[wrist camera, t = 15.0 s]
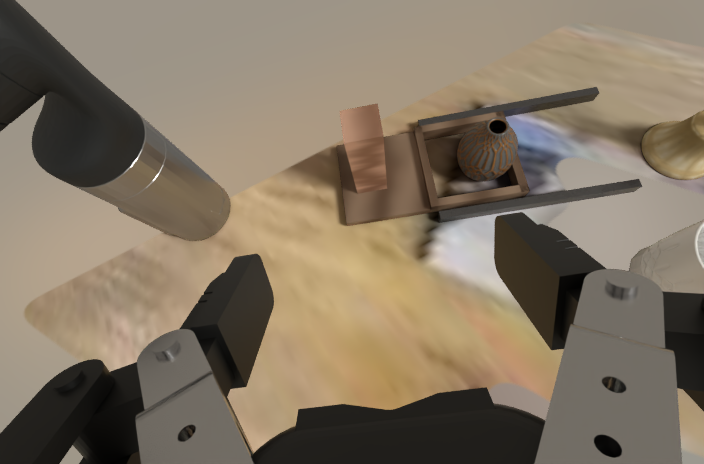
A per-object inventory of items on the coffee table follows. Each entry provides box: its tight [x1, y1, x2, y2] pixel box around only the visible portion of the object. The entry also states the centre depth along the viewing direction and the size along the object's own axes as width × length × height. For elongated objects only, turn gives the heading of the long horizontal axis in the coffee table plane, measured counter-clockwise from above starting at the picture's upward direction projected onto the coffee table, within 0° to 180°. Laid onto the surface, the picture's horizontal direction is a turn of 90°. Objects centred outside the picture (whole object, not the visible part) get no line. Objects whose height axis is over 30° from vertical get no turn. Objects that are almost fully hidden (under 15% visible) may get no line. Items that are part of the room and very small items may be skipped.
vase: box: [457, 117, 518, 181], centre depth 41 cm, size 7×7×9 cm
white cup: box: [629, 220, 704, 294], centre depth 33 cm, size 8×8×10 cm
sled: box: [337, 104, 530, 226], centre depth 39 cm, size 23×12×13 cm, turn 97°
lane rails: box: [418, 87, 642, 223], centre depth 44 cm, size 24×15×2 cm, turn 97°
